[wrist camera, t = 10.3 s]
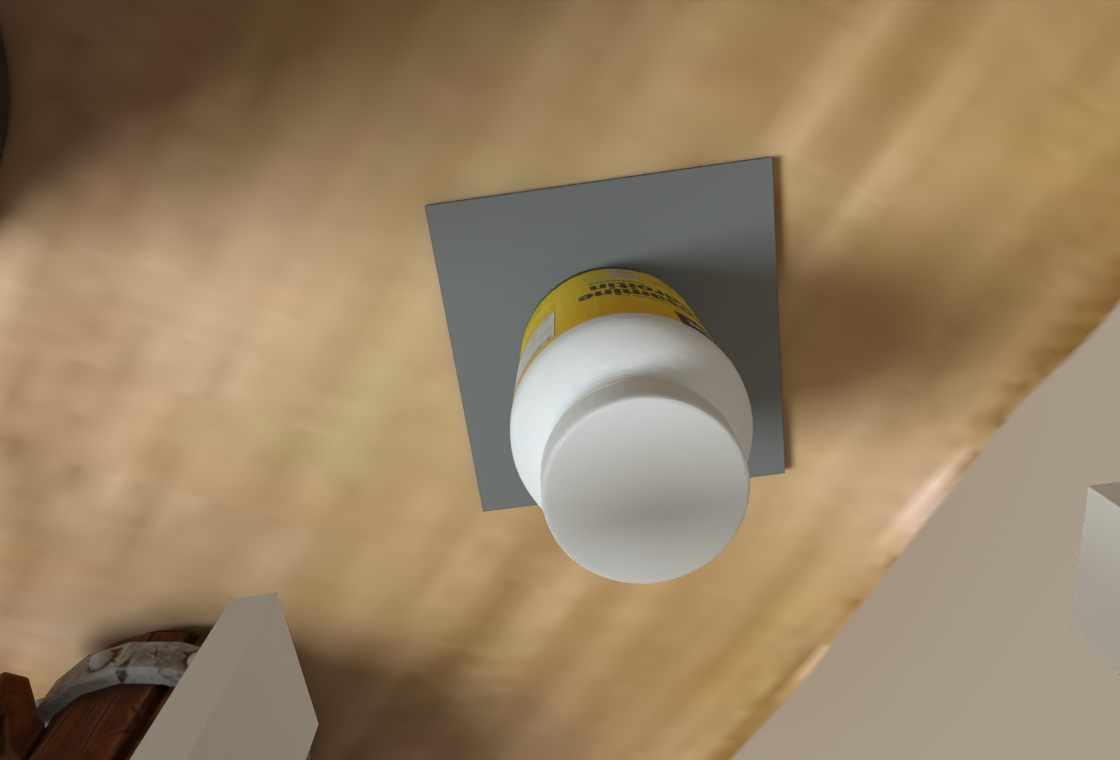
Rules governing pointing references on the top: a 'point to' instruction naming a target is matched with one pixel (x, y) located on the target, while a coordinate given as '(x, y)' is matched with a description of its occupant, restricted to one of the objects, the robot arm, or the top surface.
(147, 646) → the mug
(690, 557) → the pill bottle
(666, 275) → the slate mat
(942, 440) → the top surface
